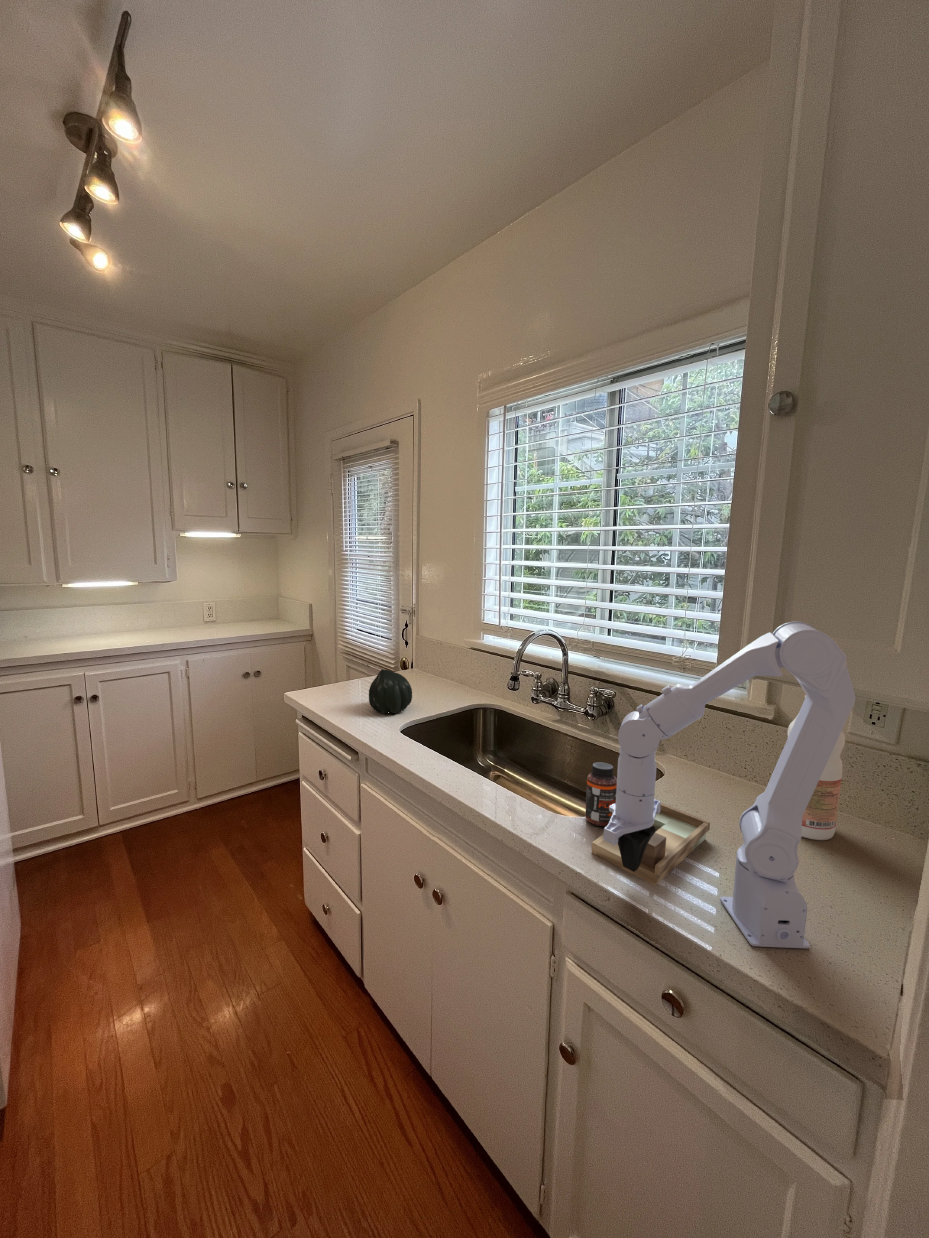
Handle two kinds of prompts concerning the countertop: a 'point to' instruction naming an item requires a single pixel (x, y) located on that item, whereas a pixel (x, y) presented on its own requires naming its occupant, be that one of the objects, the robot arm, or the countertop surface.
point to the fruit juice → (824, 796)
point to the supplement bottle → (600, 794)
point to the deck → (680, 842)
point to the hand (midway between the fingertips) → (630, 867)
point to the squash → (390, 692)
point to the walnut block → (654, 850)
